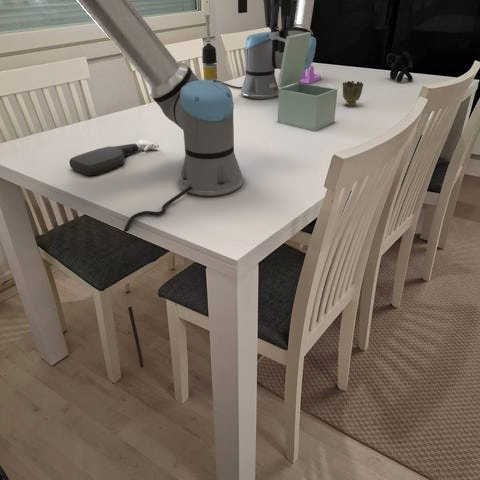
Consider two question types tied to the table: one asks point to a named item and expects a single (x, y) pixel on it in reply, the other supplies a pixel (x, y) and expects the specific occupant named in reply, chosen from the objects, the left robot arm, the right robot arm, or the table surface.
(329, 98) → the chest
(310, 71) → the bracket
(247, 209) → the table surface
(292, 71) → the lid
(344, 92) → the cup
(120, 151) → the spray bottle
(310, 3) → the right robot arm
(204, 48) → the filter
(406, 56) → the squiggle
